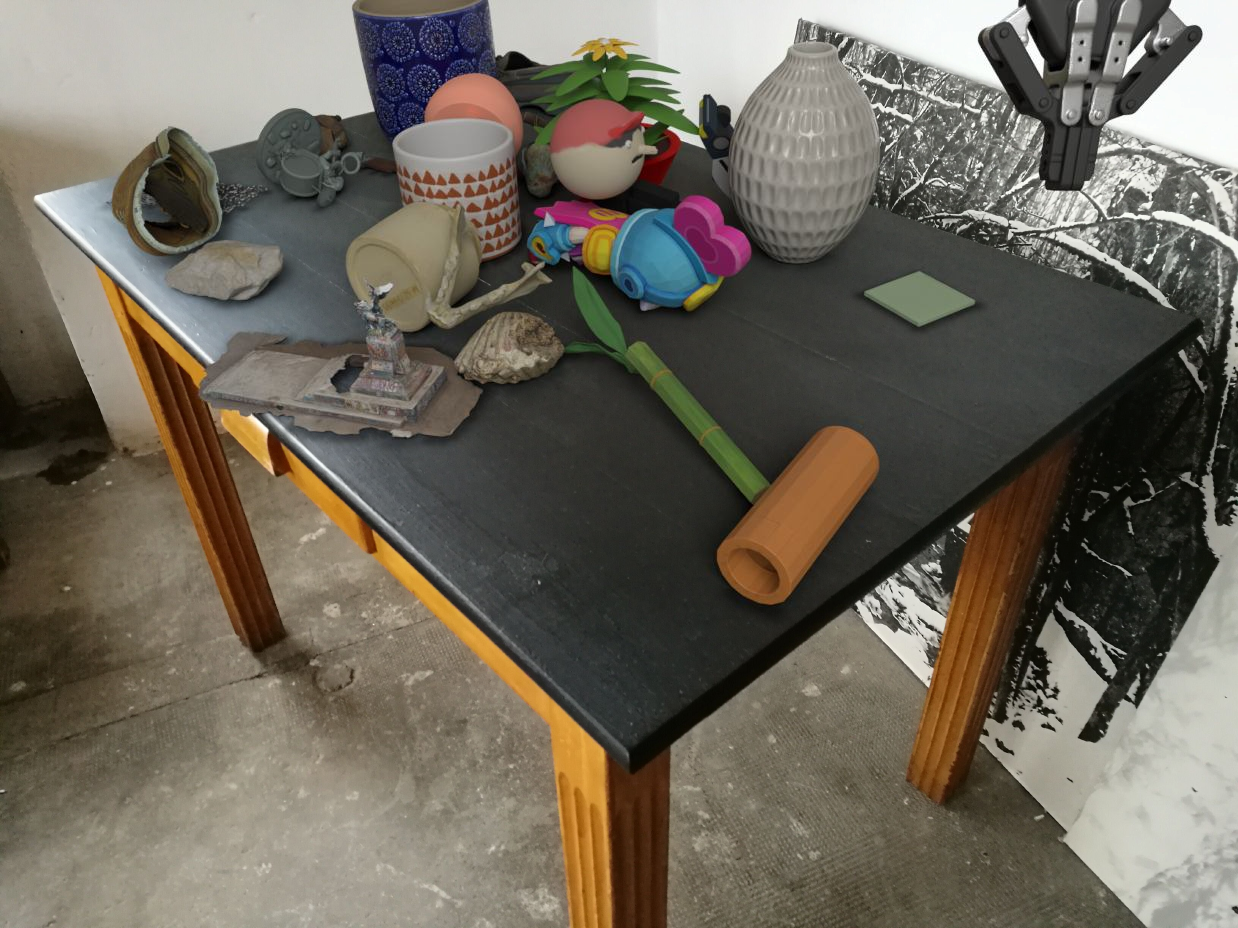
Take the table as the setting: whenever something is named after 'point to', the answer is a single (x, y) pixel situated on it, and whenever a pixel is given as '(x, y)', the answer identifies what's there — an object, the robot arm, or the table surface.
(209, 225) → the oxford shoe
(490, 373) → the seashell
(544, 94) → the loafer
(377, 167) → the knife
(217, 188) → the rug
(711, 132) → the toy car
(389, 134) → the planter
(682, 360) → the table surface
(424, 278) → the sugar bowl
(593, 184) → the toy
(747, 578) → the jar
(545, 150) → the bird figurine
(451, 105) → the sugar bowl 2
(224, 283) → the stone
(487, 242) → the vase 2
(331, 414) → the monument
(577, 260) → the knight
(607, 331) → the decorative plant
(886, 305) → the coaster
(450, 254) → the jawbone
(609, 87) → the potted flower
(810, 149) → the vase
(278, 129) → the figurine
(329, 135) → the figurine
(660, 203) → the toy
